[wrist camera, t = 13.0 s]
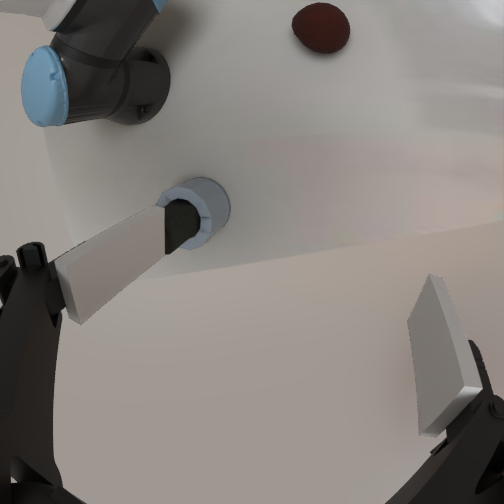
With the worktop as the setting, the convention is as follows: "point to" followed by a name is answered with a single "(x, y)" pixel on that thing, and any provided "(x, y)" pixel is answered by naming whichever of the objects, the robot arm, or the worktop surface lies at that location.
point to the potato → (321, 27)
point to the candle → (180, 223)
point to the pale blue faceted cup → (201, 207)
